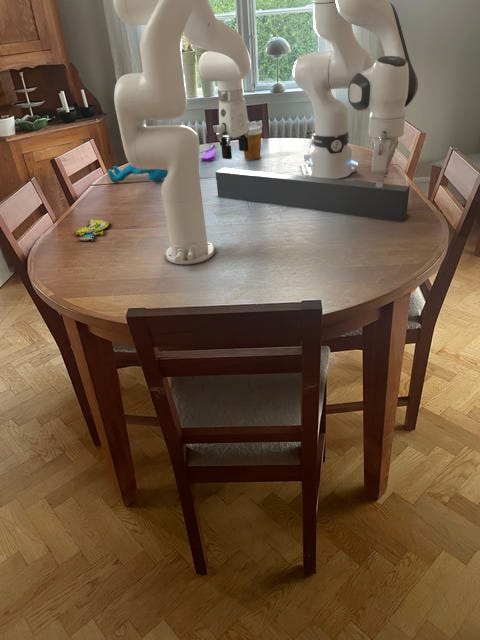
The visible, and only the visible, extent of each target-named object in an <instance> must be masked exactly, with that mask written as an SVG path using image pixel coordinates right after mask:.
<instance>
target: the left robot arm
mask: <svg viewBox="0 0 480 640" xmlns="http://www.w3.org/2000/svg"><path fill="white" fill-rule="evenodd" d="M112 4H113V7H114V10H115V13H116V15H117V16H118V18H119V19H120V20H121V21H122V22H123V23H124V24H125V25H127V26H130V27H131V26H132V27H135V26H136V27H137V26H145V27H144V29H143V32H142V34H141V38H140V41H139V54H140V58H141V59H140V60H141V68H142V72H133V73H126V74H124V75H121V76H120V77H119V78H118V79H117V81H116V83H115V85H114V92H113V101H114V108H115V109H114V110H115V114H116V118H117V123H118V129H119V133H120V137H121V138H120V139H121V142H122V147H123V151H124V155H125V158H126V161H127V162H128V163H129V164H131V165H132V166H133V167H135V168H138V169H162V170H167V171H168V174H167V176H166V177H164V180H163V182H162V184H161V188H160V193H161V199H162V204H163V210H164V216H165V222H166V223H165V224H166V228H167V234H168V240H169V247H168V248H167V250H166V251H165V257H166V260H167V261H169V262H170V263H173V264H176V265H193V264H199V263H203V262H205V261H207V260H208V259H210V258H211V257H213V255H214V254H215V246H214V244H212V243H210V242H209V241H208V236H207V228H206V221H205V214H204V213H205V212H204V203H203V197H202V188H201V178H200V153H201V152H200V151H201V148H200V139H199V136H198V134H197V132H196V131H195V130H194V129H192V128H191V127H190V126H189V127H188V126H185V125H180V124H179V125H178V124H170V125H169V124H165V125H164V124H163V125H146V121H166V120H168V121H169V120H177V119H179V118H182V117H183V116H184V115H185V114H186V112H187V107H188V98H187V97H188V96H187V86H186V79H185V78H186V77H185V72H184V65H183V54H182V40H183V36H185V38H186V40H187V42H188V43H189V44H191V45H192V46H194V47H196V48H200V49H201V50H205V52H204V53H202V54H201V56H200V57H199V59H198V63H197V69H198V73H199V75H200V77H201V79H203V80H204V81H206V82H216V84H217V85H216V86H217V94H218V95H217V96H218V126H219V128H218V130H217V131H216V133H215V135H216V138H217V141H218V143H219V146H220V147H221V156H222V159H223V160H232V159H233V154H232V145H230V144H231V141H232V139H236V138H238V150H239V151H240V152H244V151H248V132H249V125H251V123H250V120H249V117H248V108H247V104H246V99H245V97H244V83H243V82H244V81H243V80H245V79H247V78H248V77H249V75H250V73H251V68H252V61H251V56H250V53H249V50H248V47H247V45H246V43H245V40H244V39H243V37H242V35H241V34H240V33H239V32H238V31H236V30H235V29H234V28H233V27H231V26H230V25H228V24H227V23H225V22H224V21H221V20H220V19H218V18H216V16H215V13H214V11H213V8H212V6H211V5H210V2H209V0H112Z"/></svg>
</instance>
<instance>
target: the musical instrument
mask: <svg viewBox="0 0 480 640" xmlns="http://www.w3.org/2000/svg"><path fill="white" fill-rule="evenodd" d="M215 148H216V145H215V144H211V145H210V146H209V147H208V149H207V150H204V151H202V152H200V154H202V153H203V155H202V156H200V157H199V160H201V161H207V162H210V161H212V160H215V159H216V149H215Z"/></svg>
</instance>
